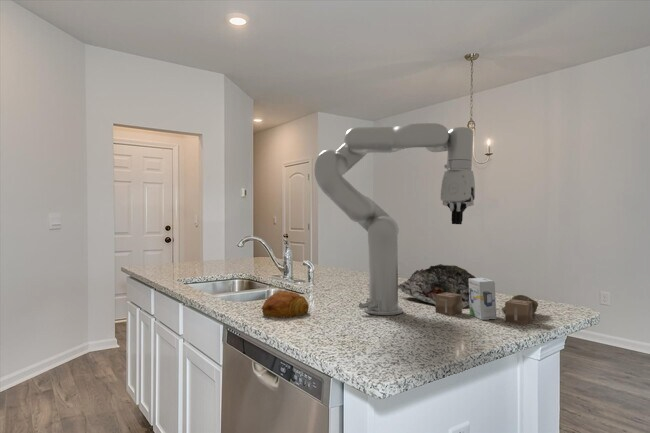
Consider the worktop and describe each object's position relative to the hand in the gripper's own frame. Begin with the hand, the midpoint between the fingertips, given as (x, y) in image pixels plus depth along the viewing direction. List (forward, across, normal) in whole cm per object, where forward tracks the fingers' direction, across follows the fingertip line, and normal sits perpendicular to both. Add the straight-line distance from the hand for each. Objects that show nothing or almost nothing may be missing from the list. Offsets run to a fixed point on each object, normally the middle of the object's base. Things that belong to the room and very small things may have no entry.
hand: (456, 224), depth 133 cm
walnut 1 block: (+28, +18, +7) cm, 34 cm away
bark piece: (+30, -17, +13) cm, 37 cm away
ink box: (+29, +8, +4) cm, 30 cm away
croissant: (+32, -37, -41) cm, 63 cm away
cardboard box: (+29, -2, +1) cm, 29 cm away
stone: (+28, +14, +16) cm, 35 cm away
